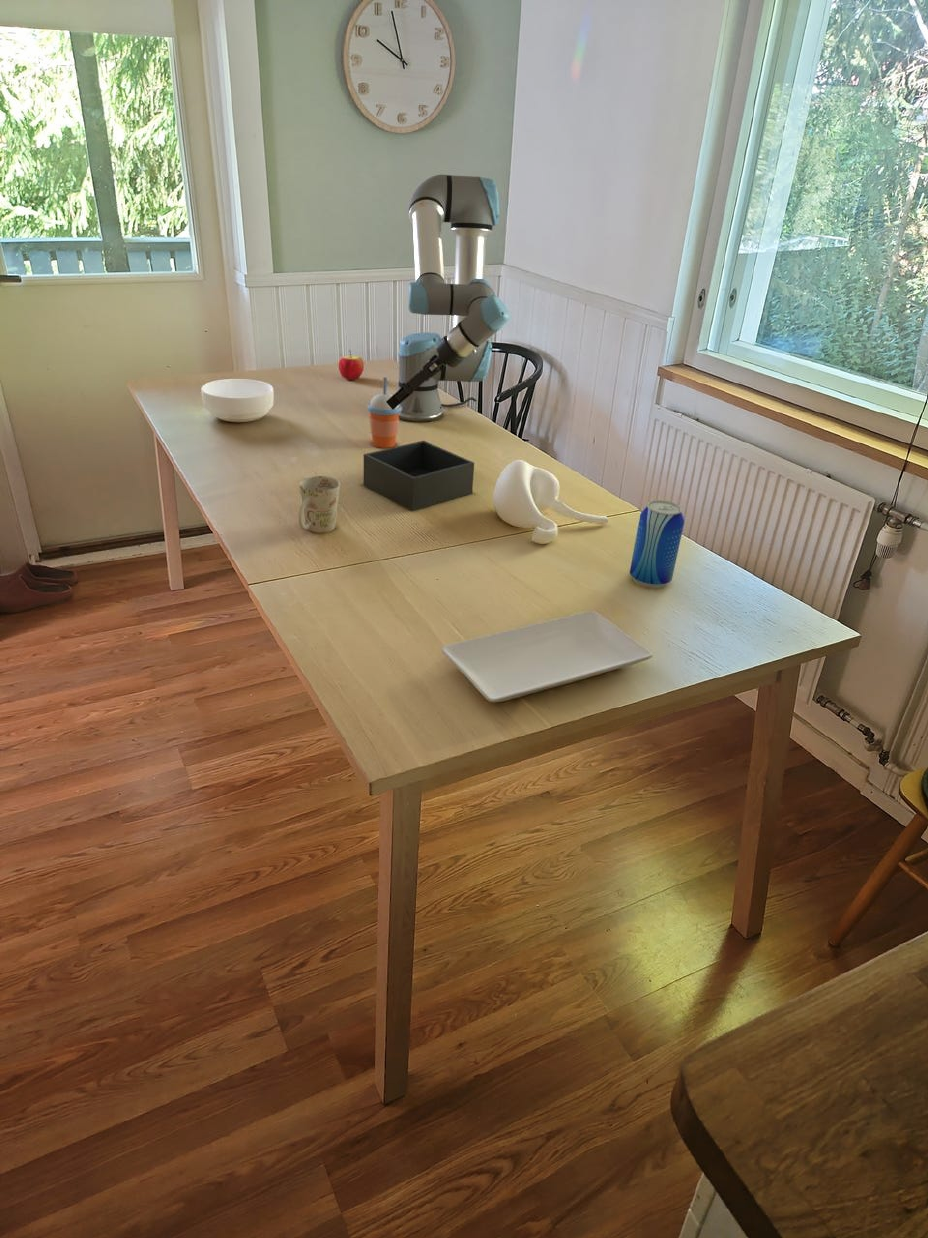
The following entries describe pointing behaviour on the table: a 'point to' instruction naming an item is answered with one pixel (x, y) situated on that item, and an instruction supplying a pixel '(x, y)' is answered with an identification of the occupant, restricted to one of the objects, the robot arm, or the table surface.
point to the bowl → (238, 399)
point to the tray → (544, 655)
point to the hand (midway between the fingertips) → (396, 398)
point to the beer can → (657, 544)
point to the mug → (319, 503)
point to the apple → (351, 367)
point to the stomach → (533, 501)
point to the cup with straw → (383, 419)
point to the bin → (418, 474)
